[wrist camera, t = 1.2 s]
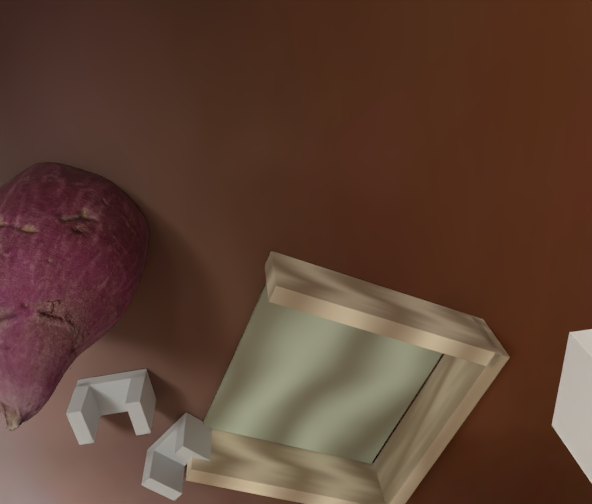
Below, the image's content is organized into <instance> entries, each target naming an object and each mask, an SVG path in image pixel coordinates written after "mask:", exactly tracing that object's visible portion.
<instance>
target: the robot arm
mask: <svg viewBox="0 0 592 504" xmlns="http://www.w3.org/2000/svg"><path fill="white" fill-rule="evenodd" d="M552 426H553V428H554V429H555V431H556V432H557V434H558V435H559V437H560V438H561V440H562V441H563V442H564V444H565V445H566V447H567V448H568V450H569V451H570V453H571V454H572V456H573V457H574V458H575V460H576V461H577V463H578V464H579V466H580V467H581V469H582V470H583V472H584V473H585V474H586V476H587V477H588V479H589V480H590V482H591V483H592V329H589V330H582V331H576V332H569V337H568V343H567V348H566V353H565V358H564V363H563V369H562V374H561V379H560V384H559V390H558V395H557V400H556V405H555V411H554V416H553V421H552Z"/></svg>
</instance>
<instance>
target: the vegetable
mask: <svg viewBox="0 0 592 504" xmlns="http://www.w3.org/2000/svg"><path fill="white" fill-rule="evenodd" d="M148 243H149V228H148V226H147V222H146V220H145V218H144V217H143V215H142V214H141V212H140V211H139V209H138V206H137V205H135V204H134V203H133V202H132V201H131V200H130V199H129V198H128V196H127V195H126V194H125V193H124V192H122V191H121V190H120V189H119V188H118V187H117V186H116V185H114V184H113V183H112V182H111V181H109V180H107V179H105V178H103V177H102V176H99V175H97V174H94V173H90V172H87V171H85V170H82V169H78V168H75V167H72V166H68V165H63V164H59V163H38V164H35V165H33V166H31V167H29V168H28V169H26V170H24V171H23V172H21V173H20V174H18V175H17V176H16V177H14V178H13V179H12V180H10V181H9V182H8V183H6V184H5V185H3V186H2V187H1V188H0V414H1V415H2V416H3V417H4V418H6V422H7V427H6V429H8V430H11V431H14V430H15V429H16V428H18V427H19V426H20V425H21V424H22V422H25V421H28V420H29V419H30V418H31V417H33V416H34V415H36V414H37V413H38V412H39V411H40V410H41V409H42V407H43V406H44V405H45V404H46V402H47V401H48V400H49V398H50V397H51V395H52V394H53V392H54V390H55V389H56V387H57V385H58V383H59V382H60V380H61V378H62V377H63V375H64V373H65V372H66V370H67V369H68V368H69V366H70V365H71V364H72V363H73V361H74V360H75V359H76V358H77V357H78V356H79V355H80V354H81V353H82V352H83V351H85V350H86V349H87V348H89V347H90V346H91V345H92V344H94V343H95V342H96V341H97V340H99V339H100V338H101V337H102V336H103V335H104V334H106V333H107V332H108V331H109V330H110V329H111V328H112V327H113V326H114V324H115V323H116V322H117V321H118V320H119V319H120V317H121V316H122V315H123V314H124V313H125V311H126V309H127V308H128V307H129V305H130V303H131V301H132V299H133V296H134V294H135V292H136V291H137V289H138V287H139V283H140V279H141V276H142V273H143V270H144V266H145V264H146V259H147V253H148Z"/></svg>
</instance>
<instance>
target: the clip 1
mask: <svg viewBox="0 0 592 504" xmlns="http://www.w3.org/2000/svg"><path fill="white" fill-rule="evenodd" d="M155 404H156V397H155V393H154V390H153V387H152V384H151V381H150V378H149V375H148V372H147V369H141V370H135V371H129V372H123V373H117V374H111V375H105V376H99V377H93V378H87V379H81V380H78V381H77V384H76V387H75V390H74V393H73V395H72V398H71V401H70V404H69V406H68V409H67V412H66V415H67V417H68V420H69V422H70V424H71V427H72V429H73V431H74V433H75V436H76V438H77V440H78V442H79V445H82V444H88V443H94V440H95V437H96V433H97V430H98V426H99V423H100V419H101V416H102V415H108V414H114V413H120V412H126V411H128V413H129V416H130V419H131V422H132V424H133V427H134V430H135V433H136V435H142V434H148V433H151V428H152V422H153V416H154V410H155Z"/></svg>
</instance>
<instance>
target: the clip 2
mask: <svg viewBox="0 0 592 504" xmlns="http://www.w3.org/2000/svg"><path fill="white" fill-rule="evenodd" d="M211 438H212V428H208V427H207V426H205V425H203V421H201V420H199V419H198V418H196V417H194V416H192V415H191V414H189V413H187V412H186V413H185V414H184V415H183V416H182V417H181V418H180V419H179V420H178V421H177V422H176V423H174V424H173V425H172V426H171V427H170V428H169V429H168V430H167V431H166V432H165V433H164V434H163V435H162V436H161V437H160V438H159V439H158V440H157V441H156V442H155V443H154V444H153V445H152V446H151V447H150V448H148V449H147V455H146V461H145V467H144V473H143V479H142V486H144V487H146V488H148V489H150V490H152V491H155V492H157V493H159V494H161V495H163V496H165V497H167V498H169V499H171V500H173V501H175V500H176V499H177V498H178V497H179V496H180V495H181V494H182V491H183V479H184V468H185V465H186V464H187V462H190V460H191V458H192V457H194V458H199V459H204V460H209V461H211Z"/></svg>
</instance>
